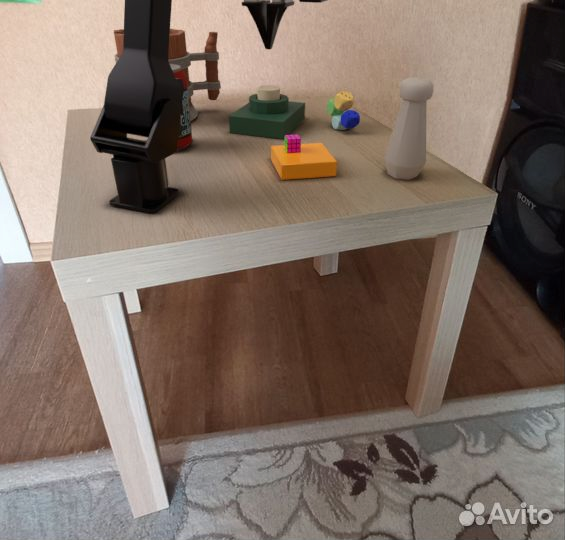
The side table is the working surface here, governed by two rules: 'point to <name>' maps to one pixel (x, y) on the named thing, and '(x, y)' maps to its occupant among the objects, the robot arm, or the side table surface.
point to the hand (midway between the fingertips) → (268, 49)
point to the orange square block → (302, 159)
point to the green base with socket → (267, 117)
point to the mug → (188, 62)
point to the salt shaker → (409, 130)
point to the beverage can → (185, 122)
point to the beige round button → (268, 93)
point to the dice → (337, 108)
